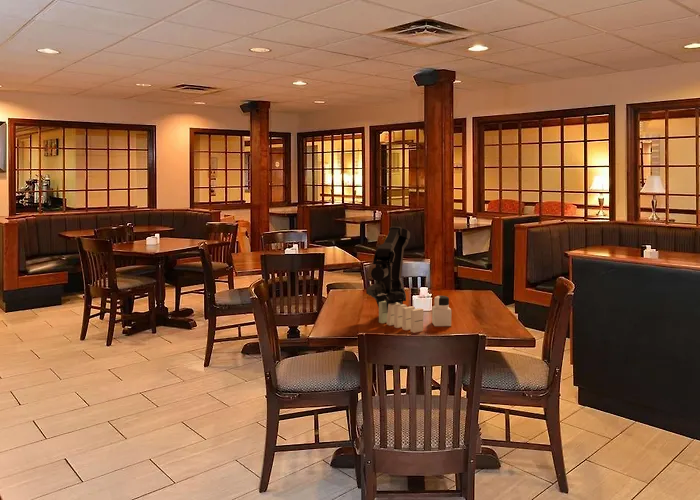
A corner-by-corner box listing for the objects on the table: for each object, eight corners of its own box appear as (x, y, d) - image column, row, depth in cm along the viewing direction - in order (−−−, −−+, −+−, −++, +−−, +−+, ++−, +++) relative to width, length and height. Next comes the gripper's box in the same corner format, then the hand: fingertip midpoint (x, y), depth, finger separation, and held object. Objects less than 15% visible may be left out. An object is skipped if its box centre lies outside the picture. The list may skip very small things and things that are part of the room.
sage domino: (378, 322, 267) (378, 301, 266) (387, 320, 270) (387, 300, 268) (381, 323, 265) (381, 302, 264) (390, 321, 268) (390, 301, 267)
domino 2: (394, 327, 259) (394, 305, 258) (403, 325, 262) (403, 304, 261) (397, 327, 257) (397, 306, 256) (406, 326, 260) (406, 304, 259)
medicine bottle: (448, 322, 266) (448, 294, 265) (451, 326, 259) (451, 297, 258) (431, 322, 266) (431, 294, 265) (434, 326, 259) (434, 298, 257)
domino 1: (386, 324, 263) (388, 303, 261) (395, 322, 266) (397, 302, 264) (389, 325, 261) (391, 305, 259) (398, 323, 264) (400, 303, 262)
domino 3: (402, 329, 255) (402, 307, 254) (411, 327, 258) (411, 306, 257) (405, 330, 253) (405, 308, 252) (414, 328, 256) (414, 307, 255)
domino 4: (410, 331, 251) (410, 309, 250) (419, 329, 254) (419, 308, 253) (414, 332, 249) (414, 310, 248) (423, 330, 252) (423, 309, 251)
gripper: (356, 276, 267) (356, 311, 269) (384, 282, 253) (384, 319, 255) (376, 273, 274) (376, 308, 276) (405, 279, 259) (404, 315, 261)
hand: (384, 312), depth 267 cm, fingers open, 5 cm apart
